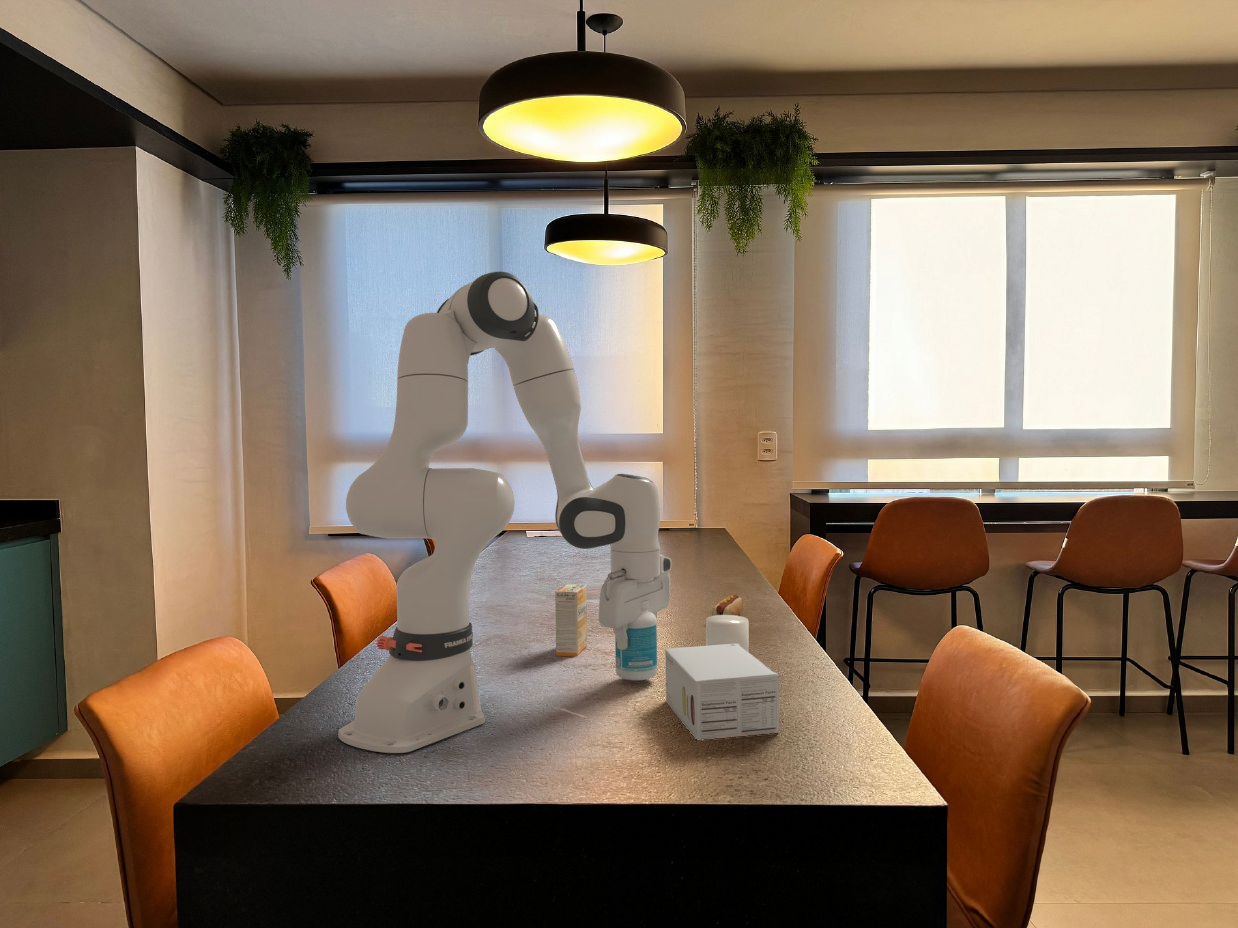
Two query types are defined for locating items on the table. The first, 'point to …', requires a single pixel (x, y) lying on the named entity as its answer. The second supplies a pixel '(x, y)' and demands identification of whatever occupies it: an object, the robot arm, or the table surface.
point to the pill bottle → (639, 648)
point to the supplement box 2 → (722, 691)
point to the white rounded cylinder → (727, 630)
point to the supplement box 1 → (571, 619)
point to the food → (728, 606)
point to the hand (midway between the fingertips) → (635, 642)
